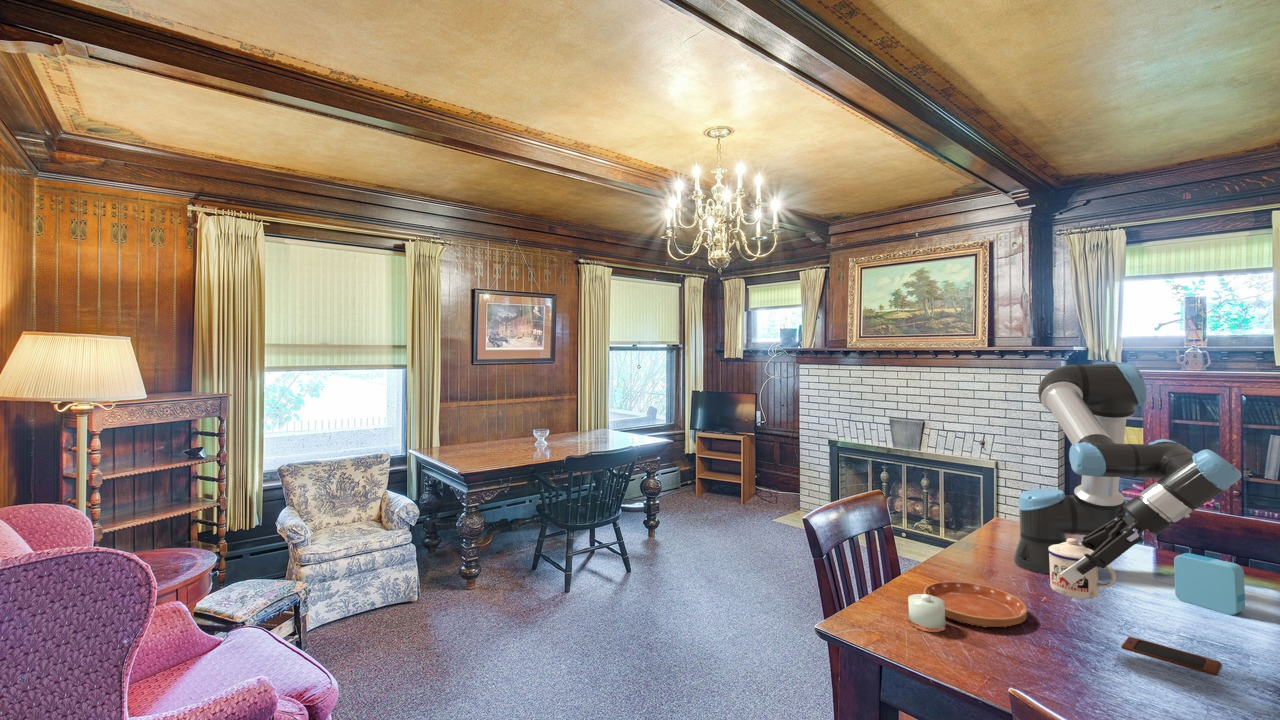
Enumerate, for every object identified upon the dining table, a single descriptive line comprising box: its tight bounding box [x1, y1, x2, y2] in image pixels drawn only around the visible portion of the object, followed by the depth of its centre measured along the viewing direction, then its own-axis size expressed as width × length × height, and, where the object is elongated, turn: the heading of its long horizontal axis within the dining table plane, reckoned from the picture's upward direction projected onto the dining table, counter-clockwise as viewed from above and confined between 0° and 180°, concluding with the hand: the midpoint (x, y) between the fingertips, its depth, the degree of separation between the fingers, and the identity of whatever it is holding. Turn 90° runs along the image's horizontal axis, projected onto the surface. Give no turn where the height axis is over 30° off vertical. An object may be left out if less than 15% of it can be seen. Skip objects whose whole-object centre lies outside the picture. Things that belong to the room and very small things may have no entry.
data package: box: [1173, 552, 1246, 616], centre depth 145 cm, size 12×4×12 cm, turn 24°
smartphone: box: [1120, 636, 1222, 677], centre depth 122 cm, size 7×1×15 cm
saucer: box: [923, 580, 1028, 628], centre depth 146 cm, size 23×23×4 cm
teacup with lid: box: [1048, 537, 1117, 600], centre depth 125 cm, size 12×9×12 cm
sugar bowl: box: [907, 593, 946, 628], centre depth 139 cm, size 8×8×7 cm
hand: (1063, 571), depth 128 cm, fingers closed on teacup with lid, 9 cm apart
